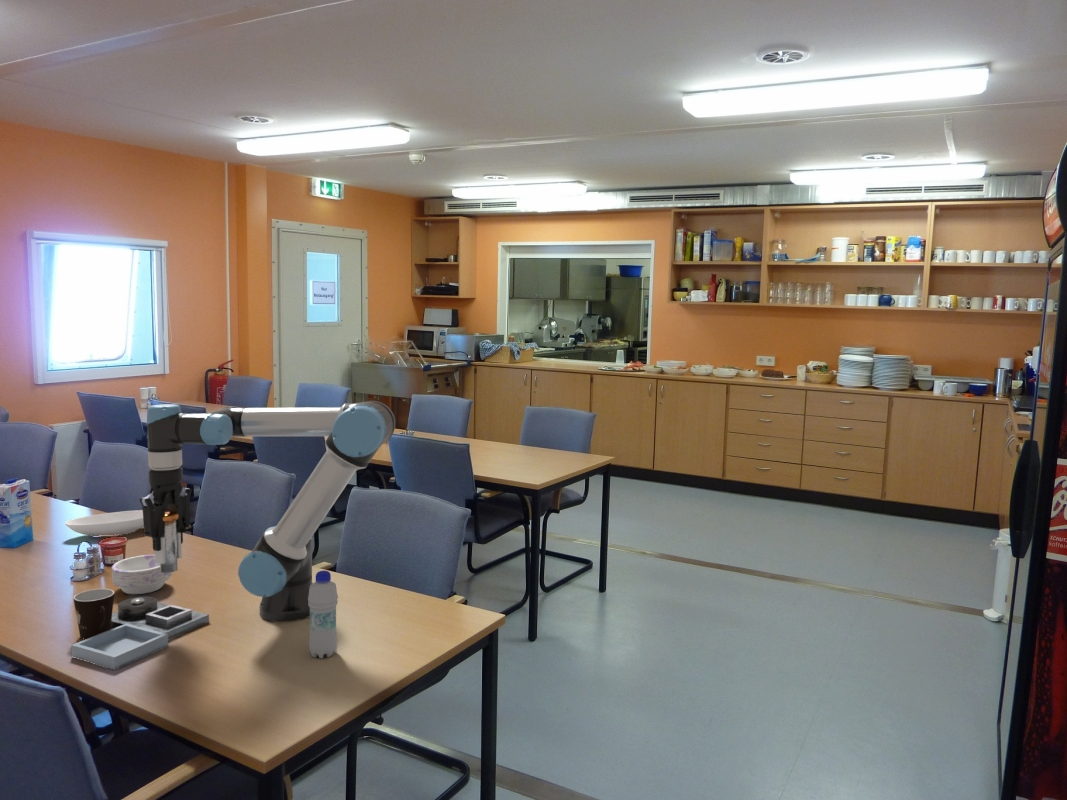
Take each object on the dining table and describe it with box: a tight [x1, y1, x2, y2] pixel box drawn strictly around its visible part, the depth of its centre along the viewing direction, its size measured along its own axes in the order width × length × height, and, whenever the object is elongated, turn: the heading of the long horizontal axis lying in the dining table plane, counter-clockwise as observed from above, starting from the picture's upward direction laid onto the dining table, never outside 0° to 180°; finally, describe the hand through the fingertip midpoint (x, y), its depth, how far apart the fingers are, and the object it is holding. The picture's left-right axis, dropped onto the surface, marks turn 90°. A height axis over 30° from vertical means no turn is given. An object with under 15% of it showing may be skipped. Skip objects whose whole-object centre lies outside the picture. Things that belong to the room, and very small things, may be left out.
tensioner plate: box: [111, 596, 210, 641], centre depth 192 cm, size 22×14×5 cm, turn 66°
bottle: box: [308, 570, 339, 659], centre depth 177 cm, size 7×7×20 cm
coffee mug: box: [72, 588, 115, 640], centre depth 183 cm, size 12×9×10 cm
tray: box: [70, 623, 169, 671], centre depth 176 cm, size 14×14×3 cm
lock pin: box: [160, 511, 179, 573], centre depth 188 cm, size 5×5×14 cm
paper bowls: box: [111, 554, 173, 595], centre depth 216 cm, size 15×15×8 cm
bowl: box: [64, 509, 144, 537], centre depth 270 cm, size 30×15×6 cm, turn 129°
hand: (168, 559), depth 189 cm, fingers closed on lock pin, 4 cm apart
